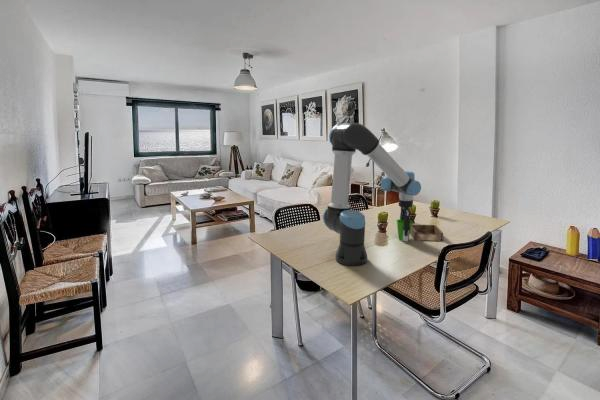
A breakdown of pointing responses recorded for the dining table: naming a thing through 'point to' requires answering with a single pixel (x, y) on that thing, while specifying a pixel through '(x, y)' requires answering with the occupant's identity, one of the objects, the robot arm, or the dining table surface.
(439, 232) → the wooden tray
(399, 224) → the cup
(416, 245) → the dining table surface
